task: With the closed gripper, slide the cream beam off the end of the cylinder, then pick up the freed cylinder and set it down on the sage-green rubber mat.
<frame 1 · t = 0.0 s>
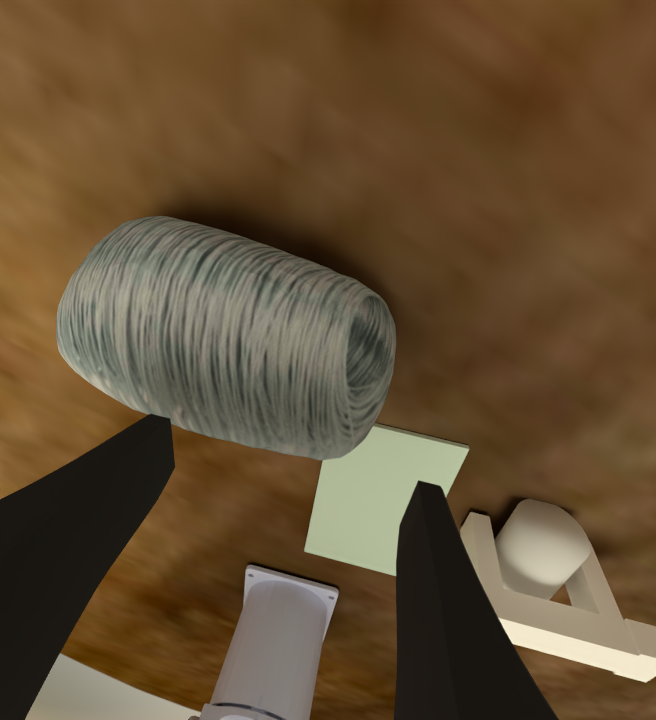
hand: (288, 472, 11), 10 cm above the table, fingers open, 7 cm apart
cream beam: (549, 587, 22), point 3 cm above the table, slide at 0.0 cm
cylinder: (508, 546, 26), on the table
mat: (374, 504, 26), on the table
mottled grey-green ovoid: (267, 301, 20), on the table
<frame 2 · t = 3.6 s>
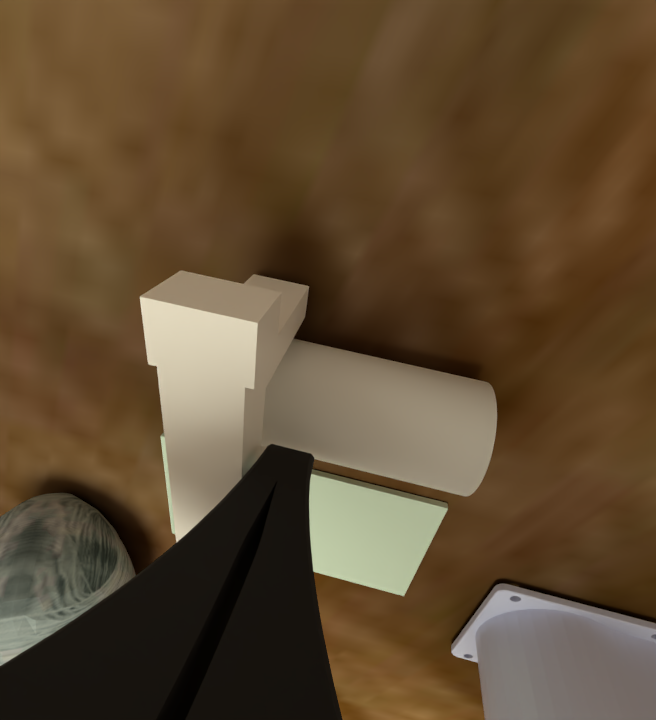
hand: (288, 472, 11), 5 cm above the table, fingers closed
cream beam: (246, 397, 12), point 3 cm above the table, slide at 0.7 cm, touching gripper
cylinder: (341, 375, 16), on the table
mat: (293, 517, 21), on the table
mottled grey-green ovoid: (98, 541, 27), on the table
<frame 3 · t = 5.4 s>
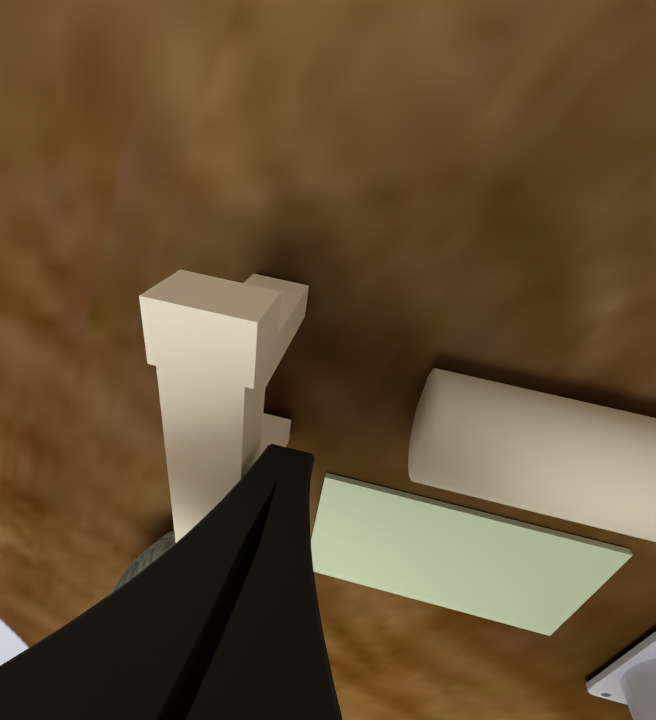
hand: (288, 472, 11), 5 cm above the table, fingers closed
cream beam: (246, 396, 12), point 3 cm above the table, slide at 8.9 cm, touching gripper
cylinder: (548, 423, 15), on the table
mat: (446, 557, 20), on the table
mottled grey-green ovoid: (212, 572, 26), on the table
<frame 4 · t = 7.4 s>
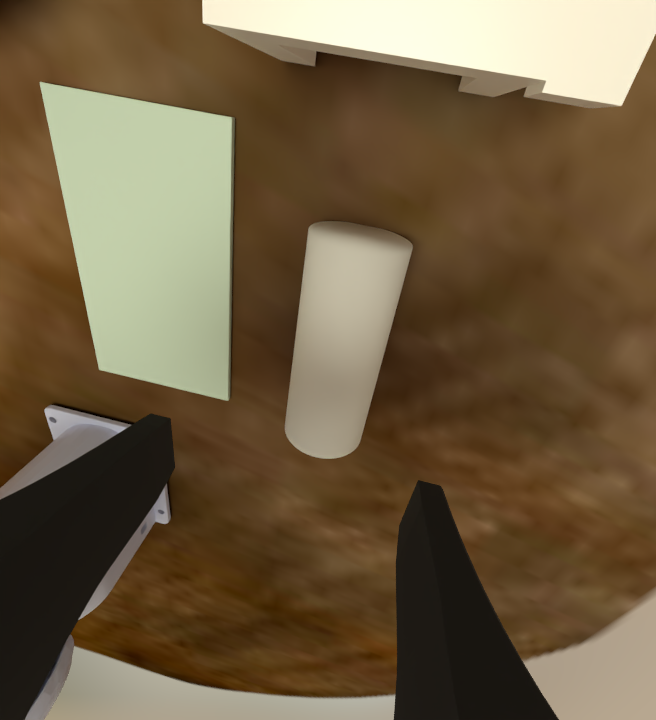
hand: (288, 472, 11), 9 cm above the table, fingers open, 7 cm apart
cream beam: (417, 26, 10), point 3 cm above the table, slide at 9.0 cm
cylinder: (339, 326, 19), on the table, tilted 9°
mat: (154, 268, 19), on the table
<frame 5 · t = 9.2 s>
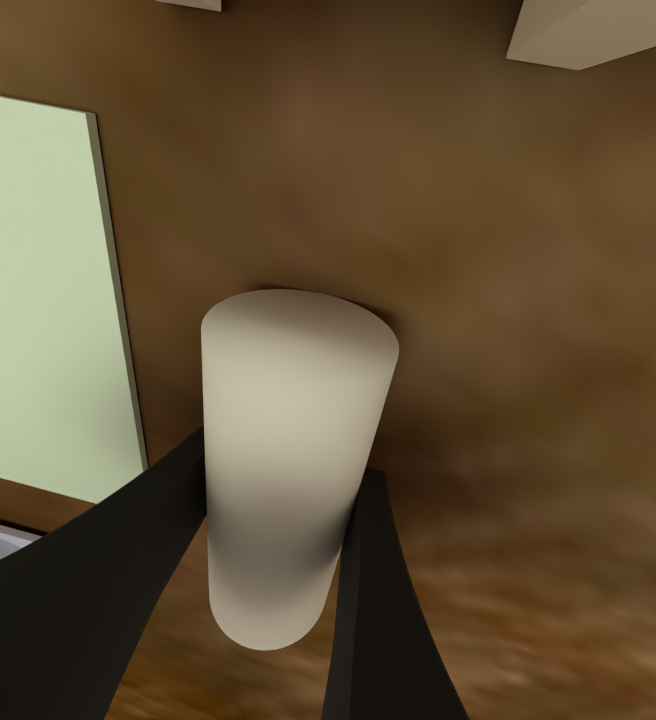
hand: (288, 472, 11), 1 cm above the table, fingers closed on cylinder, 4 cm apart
cylinder: (299, 438, 12), on the table, touching gripper
mat: (17, 346, 12), on the table
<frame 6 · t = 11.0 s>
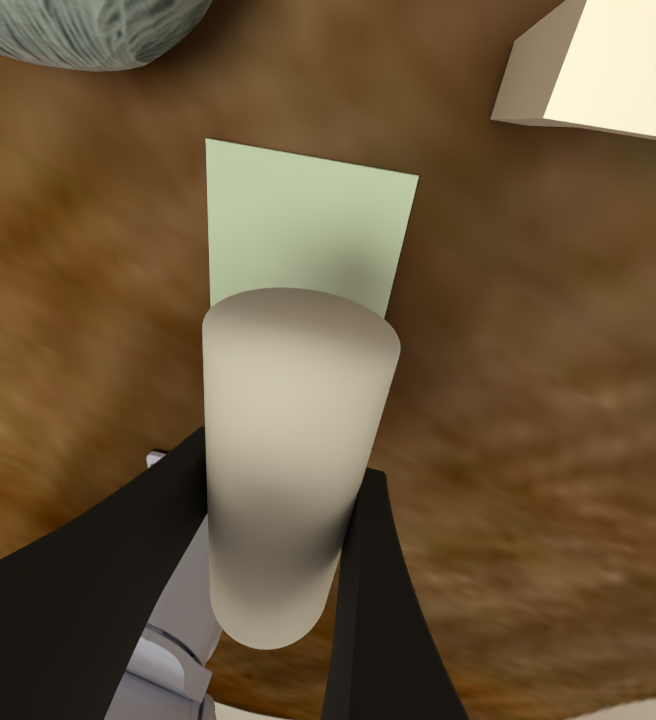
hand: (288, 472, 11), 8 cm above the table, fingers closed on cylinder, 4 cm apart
cylinder: (301, 437, 12), point 7 cm above the table, touching gripper
mat: (294, 322, 18), on the table
when the fingers open (3 cm above the table, at t = 12.7 s): cylinder drops 1 cm, resting on mat.
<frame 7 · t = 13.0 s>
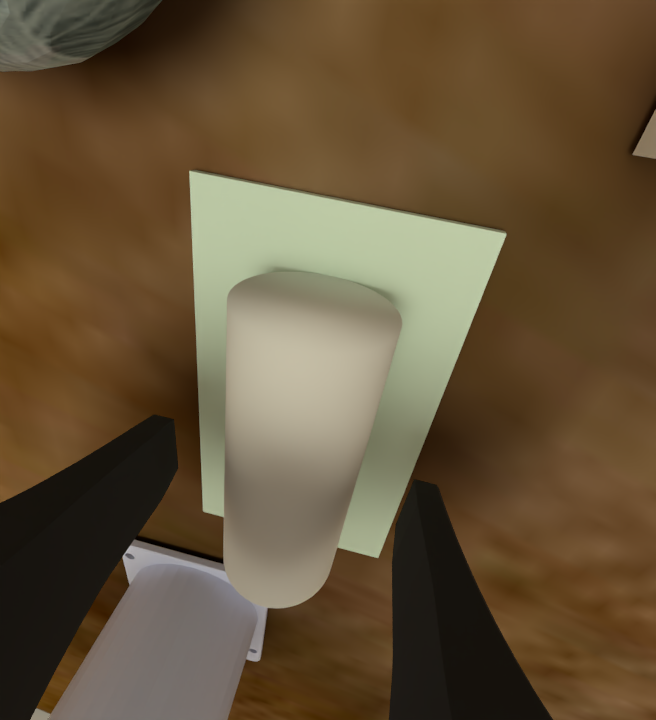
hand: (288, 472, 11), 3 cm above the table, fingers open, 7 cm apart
cylinder: (309, 413, 13), resting on mat
mat: (310, 409, 14), on the table
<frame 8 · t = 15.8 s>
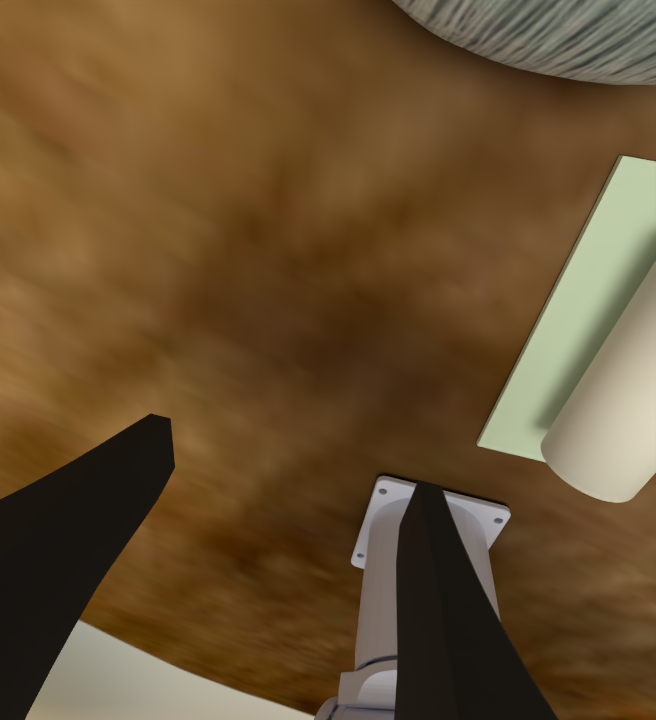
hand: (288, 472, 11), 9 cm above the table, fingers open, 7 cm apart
cylinder: (628, 351, 17), resting on mat
mat: (624, 349, 17), on the table
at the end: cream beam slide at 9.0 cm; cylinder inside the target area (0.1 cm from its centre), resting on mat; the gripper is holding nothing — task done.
